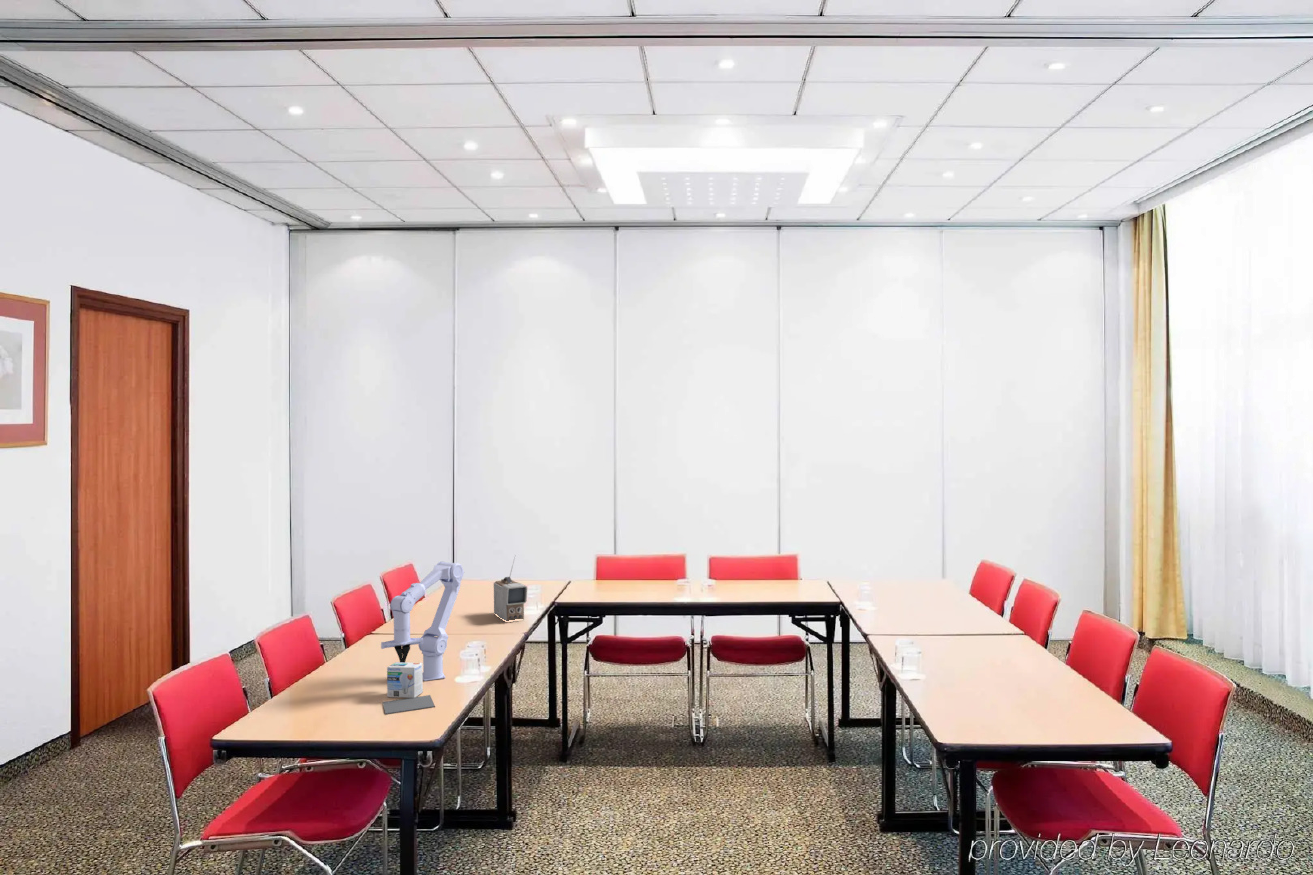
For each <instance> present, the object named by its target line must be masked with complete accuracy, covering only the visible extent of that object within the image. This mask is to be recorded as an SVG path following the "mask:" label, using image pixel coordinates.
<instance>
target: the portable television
mask: <svg viewBox="0 0 1313 875" xmlns="http://www.w3.org/2000/svg"><path fill="white" fill-rule="evenodd" d="M513 557H514V559H513V562H512V566H511V570H510V573H509V576H505V577H504V578H503V579H502V578H501V580H497V581H495V582H493V614H494V613H495V614H497V615H498V616H499V617H500V618H502V619H504V620H506V621H509V620H515V619H524V620H525V604H526V603H527V602H528V586H526V585H524V584H522V583H520V582H518V581H514V580H513V579H512V578H511V575H512V572H513V566H514V563H515V559H516V558H515V557H516V554H514V556H513Z"/></svg>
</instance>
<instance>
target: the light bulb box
mask: <svg viewBox="0 0 1313 875" xmlns="http://www.w3.org/2000/svg"><path fill="white" fill-rule="evenodd" d="M386 670H387V671H386V673H387V674H386V677H387V679H386V682H387V683H386V684H387V685H386V686H387V688H386V694H387V698H403V699H406V698H415V697H419V696H420V694H421V695H422V693H423V690H424V689H423V688H424V687H423V686H424V684H423V681H424V680H423V674H422V673H423V662H405V663H404V662H400V661H399V662H397V661H396V662H393V663H392V664H391V665H389V666H387V667H386Z"/></svg>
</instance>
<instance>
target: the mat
mask: <svg viewBox="0 0 1313 875" xmlns="http://www.w3.org/2000/svg"><path fill="white" fill-rule="evenodd" d="M434 703H435V702H434V700H433V699H432V696H431V694H428V695H422V696H420V695H419V696H416V697H415V698H400V699H393V700H386V701H382V706H383V709H384V714H385V715H392V714H397V713H406V712H410V711H413V712H414V711H418V710H425V709H432V708H435V707H436V706H435V705H436V704H434Z"/></svg>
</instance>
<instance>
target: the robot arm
mask: <svg viewBox="0 0 1313 875" xmlns="http://www.w3.org/2000/svg"><path fill="white" fill-rule="evenodd" d="M464 573H465V571H464V568H463V565H462V564H461V563H459V562H446V561H438V563H437V564H435V565H433V569H432V571H430V572H429V573H428V574H427V575H426V576H425V577H424V578H423V579H422V580H420V582H414V583H411V584H410V587H408V588H407V589H406V590H405V591H402V592H401V594H400V595H396V596H394V597H392V599H391V601H390V604H389V608H390V611H391V612H392V616H393V639H392V640H388V641H381V643H380V648H381V650H383V649H389V648H394V651H395V653H396V654H397V657H398V659H399V662H404V663H406V660H407V657H408V654H409V652H410V650H411V646H414V645H418V649H419V651H421V654H422V660H423V661H422V674H423V681H424V682H425V681H427V682H428V681H434V680H439V679H440V680H441V679H445V678H446V675H445V674H444V663H443V662H444V660H443V656H444V655H443V654H445V651H446V649H447V648H448V640H449V635H448V633H447V632H446V629H447V625H448V623H449V621H450V620H449V619H450V618H451V614H452V612H453V609H454V605H455V603H456V600H457V597H458V594H459V592H460V589H461V582H462V580H463V577H464ZM438 581H440V583H442V584H443V586H444V589H443V593H442V595H441V598H440V601H439V604H438V606H437V608H436V612H435V615H434V617H433V619H432V623H431V625H430V627H428V628H426V629H425V630H424V632H423V634H422V636H421V637H413V638H411V611H412V610H413V608H414V606H415V605H416V602H418V601H419V600H420V599H421V598H423V596H425V595H426V590H427V589H429V588H431V587H432V585H434V584H436V583H437V582H438Z"/></svg>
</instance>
